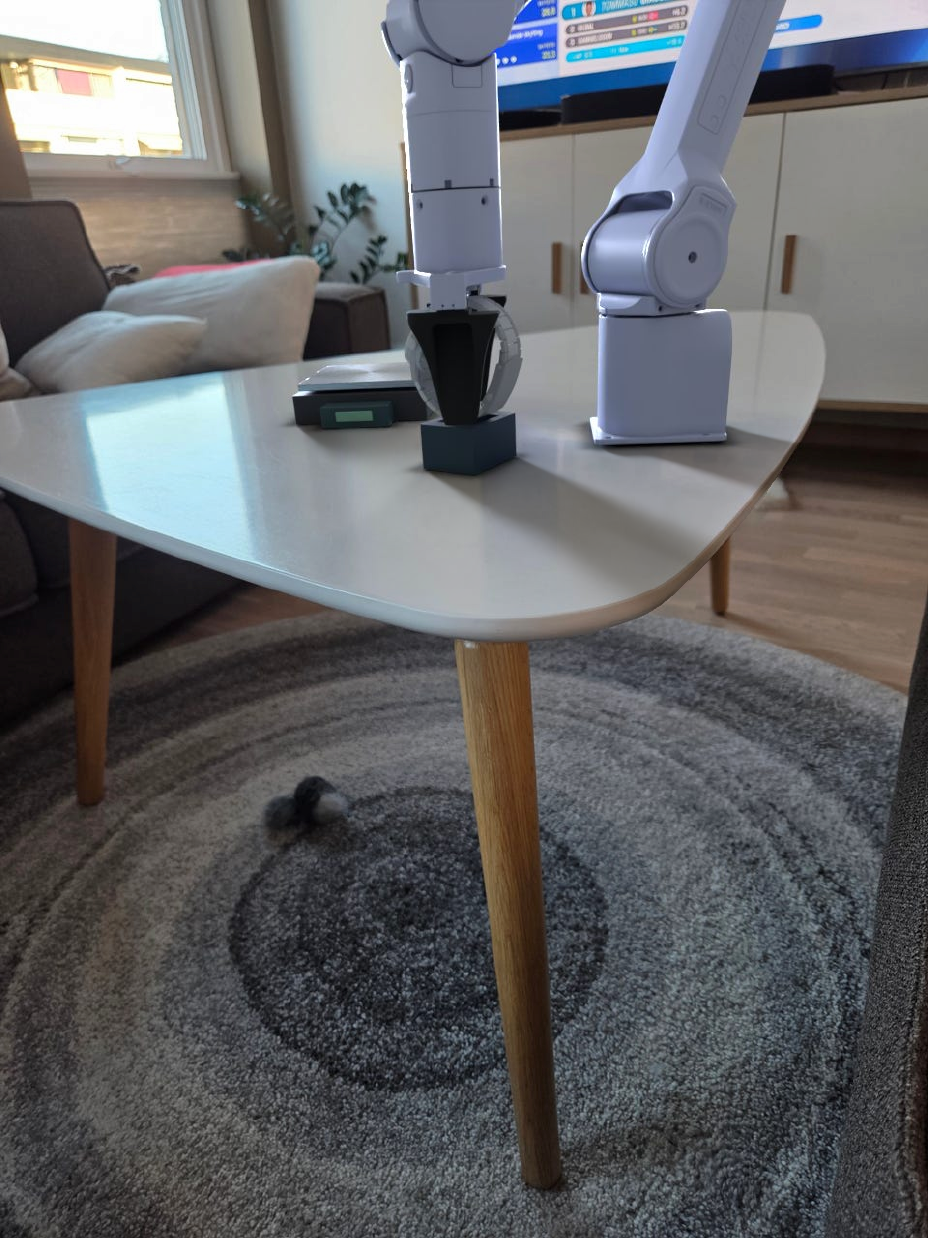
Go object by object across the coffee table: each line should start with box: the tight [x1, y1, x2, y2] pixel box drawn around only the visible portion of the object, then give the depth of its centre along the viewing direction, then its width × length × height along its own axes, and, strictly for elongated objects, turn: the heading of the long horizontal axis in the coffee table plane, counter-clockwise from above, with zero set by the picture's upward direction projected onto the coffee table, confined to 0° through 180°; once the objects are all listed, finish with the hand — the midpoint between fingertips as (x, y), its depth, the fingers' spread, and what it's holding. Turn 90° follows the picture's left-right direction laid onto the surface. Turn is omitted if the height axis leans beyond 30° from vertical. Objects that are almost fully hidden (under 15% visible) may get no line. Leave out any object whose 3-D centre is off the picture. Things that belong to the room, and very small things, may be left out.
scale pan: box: [297, 361, 416, 392], centre depth 77 cm, size 11×11×1 cm
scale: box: [291, 387, 434, 430], centre depth 77 cm, size 12×14×2 cm
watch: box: [404, 295, 523, 476], centre depth 56 cm, size 6×8×11 cm
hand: (466, 411), depth 57 cm, fingers open, 7 cm apart
